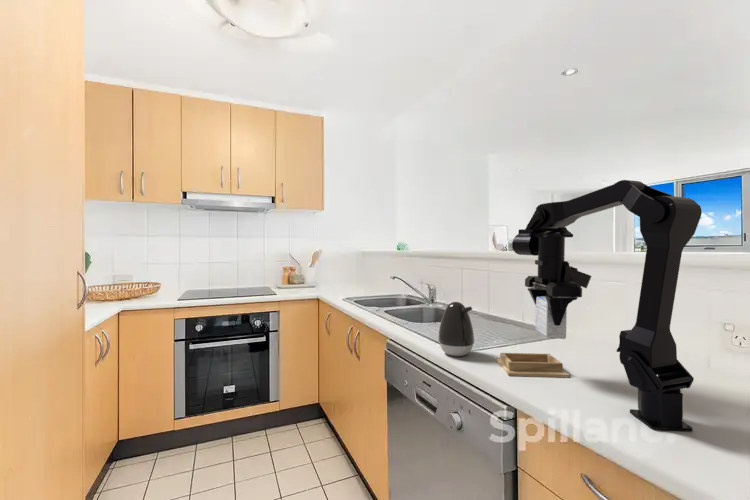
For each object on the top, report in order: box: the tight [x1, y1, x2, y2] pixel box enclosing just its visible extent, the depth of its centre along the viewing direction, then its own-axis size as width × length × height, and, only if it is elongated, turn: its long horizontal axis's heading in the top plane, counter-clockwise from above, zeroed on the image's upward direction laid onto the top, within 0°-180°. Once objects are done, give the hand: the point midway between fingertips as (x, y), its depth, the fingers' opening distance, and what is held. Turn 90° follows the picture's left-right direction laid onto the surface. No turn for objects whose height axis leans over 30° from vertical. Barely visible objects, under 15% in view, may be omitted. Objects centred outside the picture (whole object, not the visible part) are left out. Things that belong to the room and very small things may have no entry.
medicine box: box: [534, 296, 568, 340], centre depth 85 cm, size 8×4×9 cm, turn 173°
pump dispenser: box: [437, 301, 475, 357], centre depth 103 cm, size 10×10×15 cm
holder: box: [495, 352, 570, 378], centre depth 90 cm, size 12×14×3 cm
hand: (549, 321), depth 85 cm, fingers closed on medicine box, 8 cm apart
